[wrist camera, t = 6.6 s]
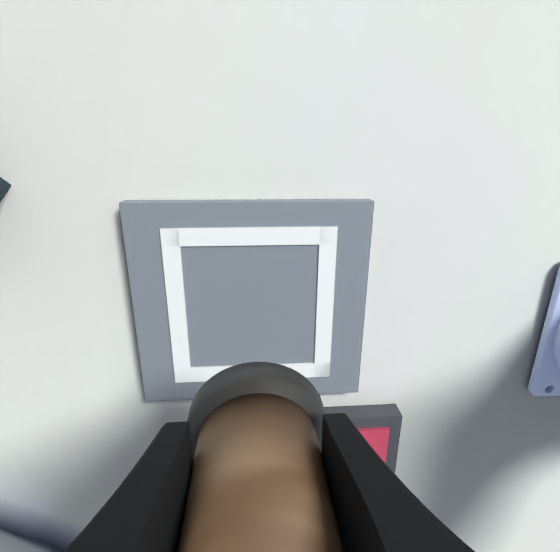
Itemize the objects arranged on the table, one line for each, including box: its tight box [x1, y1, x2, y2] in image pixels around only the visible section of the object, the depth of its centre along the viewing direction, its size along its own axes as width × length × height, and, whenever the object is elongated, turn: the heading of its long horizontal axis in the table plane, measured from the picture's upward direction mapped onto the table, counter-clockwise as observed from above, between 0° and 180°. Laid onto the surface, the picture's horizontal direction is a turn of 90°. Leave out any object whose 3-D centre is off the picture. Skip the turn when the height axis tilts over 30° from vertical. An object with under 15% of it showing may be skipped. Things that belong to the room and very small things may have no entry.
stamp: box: [178, 362, 343, 552], centre depth 9 cm, size 4×4×6 cm
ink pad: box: [323, 404, 402, 474], centre depth 21 cm, size 9×7×1 cm
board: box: [119, 199, 374, 401], centre depth 18 cm, size 11×10×1 cm
